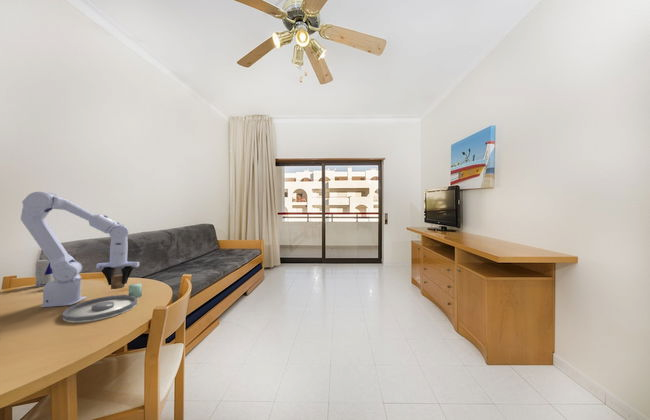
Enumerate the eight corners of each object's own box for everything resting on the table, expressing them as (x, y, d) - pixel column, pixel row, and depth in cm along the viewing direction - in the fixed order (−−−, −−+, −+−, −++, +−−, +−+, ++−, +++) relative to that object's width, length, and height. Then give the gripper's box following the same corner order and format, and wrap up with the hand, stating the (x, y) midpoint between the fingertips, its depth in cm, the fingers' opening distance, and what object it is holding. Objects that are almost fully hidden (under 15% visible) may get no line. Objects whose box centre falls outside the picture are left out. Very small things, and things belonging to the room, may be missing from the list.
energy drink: (56, 283, 111) (57, 259, 111) (42, 287, 106) (42, 261, 106) (47, 283, 112) (47, 258, 112) (32, 286, 107) (32, 261, 107)
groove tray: (45, 325, 73) (45, 320, 73) (88, 301, 92) (88, 297, 92) (120, 318, 79) (120, 313, 79) (146, 297, 97) (146, 293, 97)
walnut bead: (108, 289, 97) (108, 277, 97) (114, 286, 101) (114, 274, 101) (121, 288, 98) (121, 277, 98) (126, 285, 102) (126, 274, 102)
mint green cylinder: (126, 299, 95) (126, 287, 95) (131, 295, 99) (131, 283, 99) (138, 298, 96) (139, 286, 97) (143, 294, 101) (143, 283, 101)
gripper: (91, 255, 94) (90, 288, 93) (134, 254, 98) (133, 285, 98) (102, 252, 100) (101, 282, 100) (142, 251, 105) (141, 280, 104)
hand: (117, 284), depth 99 cm, fingers closed on walnut bead, 4 cm apart
